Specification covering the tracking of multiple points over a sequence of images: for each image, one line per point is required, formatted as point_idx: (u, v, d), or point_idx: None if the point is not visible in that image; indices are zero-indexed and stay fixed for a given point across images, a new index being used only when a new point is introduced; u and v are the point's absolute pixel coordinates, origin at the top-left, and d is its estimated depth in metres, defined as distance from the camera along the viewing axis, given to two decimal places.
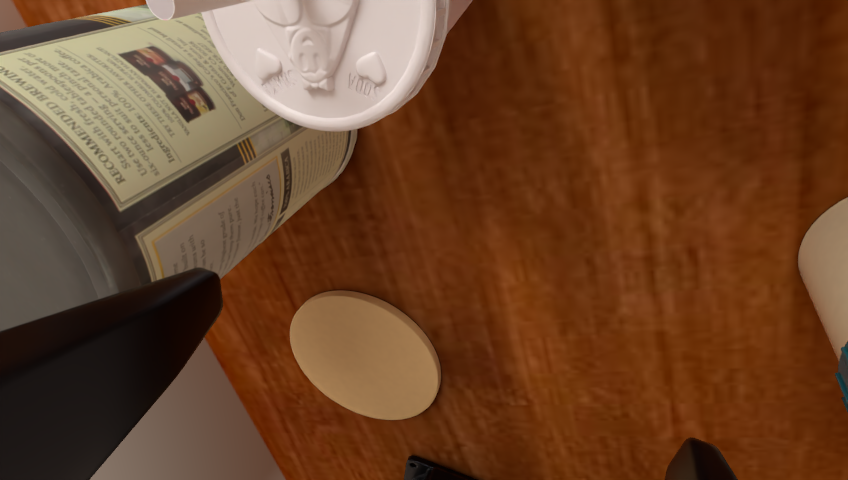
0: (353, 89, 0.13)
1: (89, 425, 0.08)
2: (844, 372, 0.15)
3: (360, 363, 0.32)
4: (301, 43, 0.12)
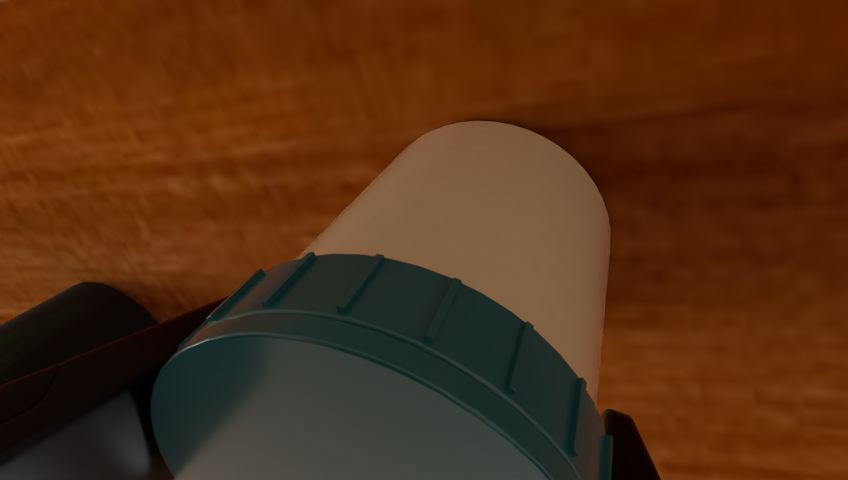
0: None
1: (154, 454, 0.08)
2: None
3: None
4: None
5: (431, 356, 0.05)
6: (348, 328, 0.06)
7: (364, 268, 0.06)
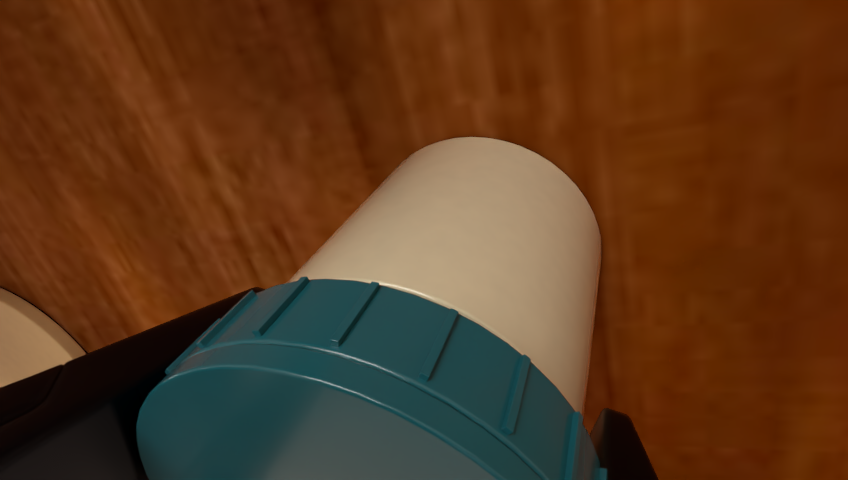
0: None
1: None
2: None
3: (22, 372, 0.26)
4: None
5: None
6: None
7: None
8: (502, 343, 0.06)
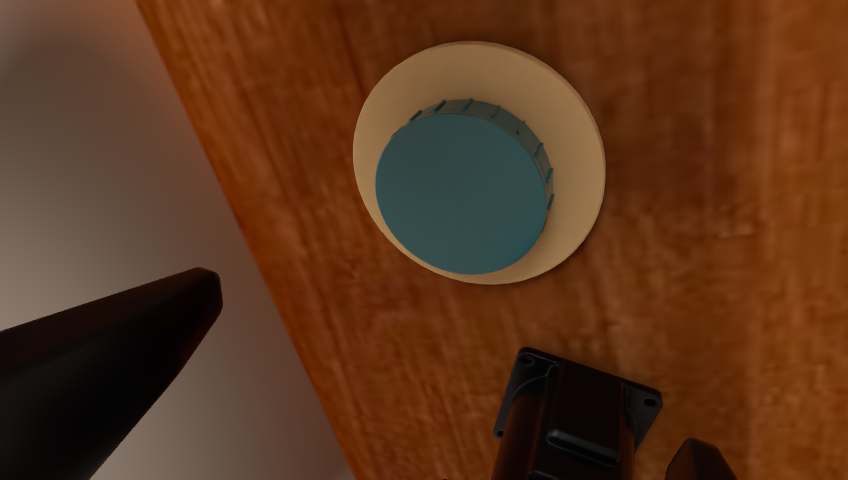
0: None
1: (89, 425, 0.08)
2: (551, 187, 0.19)
3: None
4: None
5: None
6: None
7: None
8: (516, 117, 0.18)
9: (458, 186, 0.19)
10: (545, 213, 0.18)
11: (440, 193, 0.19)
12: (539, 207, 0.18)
